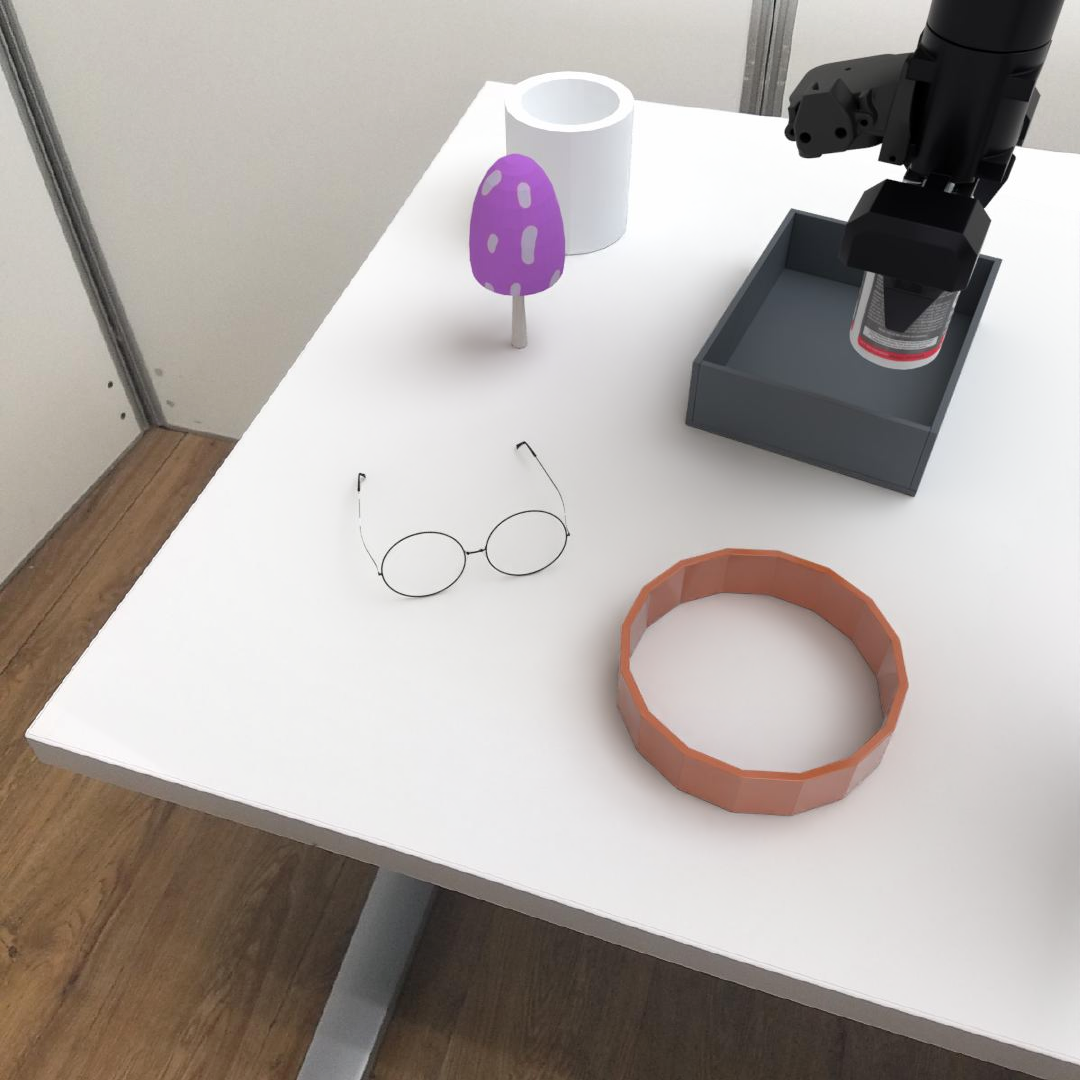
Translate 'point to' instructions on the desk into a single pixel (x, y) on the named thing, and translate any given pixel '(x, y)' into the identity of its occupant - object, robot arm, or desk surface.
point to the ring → (792, 584)
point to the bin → (825, 365)
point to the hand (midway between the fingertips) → (906, 302)
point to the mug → (577, 149)
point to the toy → (516, 235)
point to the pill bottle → (893, 346)
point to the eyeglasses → (461, 545)
